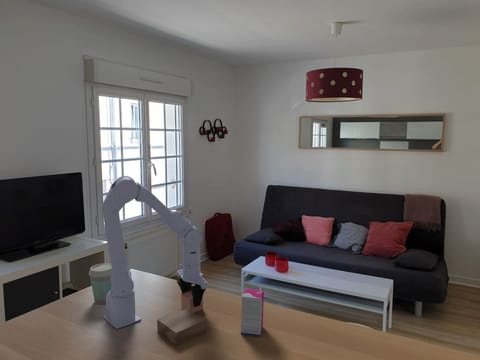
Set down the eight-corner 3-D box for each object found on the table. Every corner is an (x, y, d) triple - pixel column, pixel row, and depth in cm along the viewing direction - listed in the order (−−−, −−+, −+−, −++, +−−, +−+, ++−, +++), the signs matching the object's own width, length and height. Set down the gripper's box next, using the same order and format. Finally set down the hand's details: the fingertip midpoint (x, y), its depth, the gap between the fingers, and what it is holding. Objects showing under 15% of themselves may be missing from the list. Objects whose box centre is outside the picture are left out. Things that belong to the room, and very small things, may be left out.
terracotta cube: (181, 308, 125) (181, 293, 124) (193, 303, 128) (193, 289, 127) (190, 313, 121) (190, 299, 120) (202, 308, 124) (202, 294, 124)
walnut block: (157, 332, 111) (157, 319, 110) (186, 320, 117) (185, 308, 117) (176, 346, 103) (176, 332, 103) (205, 333, 110) (205, 320, 110)
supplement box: (261, 337, 108) (261, 298, 106) (240, 334, 109) (240, 296, 107) (263, 326, 113) (264, 289, 112) (244, 324, 114) (244, 288, 113)
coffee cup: (106, 293, 136) (105, 261, 134) (122, 299, 131) (120, 266, 129) (85, 302, 129) (83, 268, 127) (100, 309, 124) (98, 273, 122)
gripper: (215, 265, 120) (215, 306, 122) (188, 254, 130) (189, 292, 132) (197, 271, 115) (197, 314, 117) (171, 259, 126) (171, 298, 127)
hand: (192, 303), depth 124 cm, fingers closed on terracotta cube, 5 cm apart
